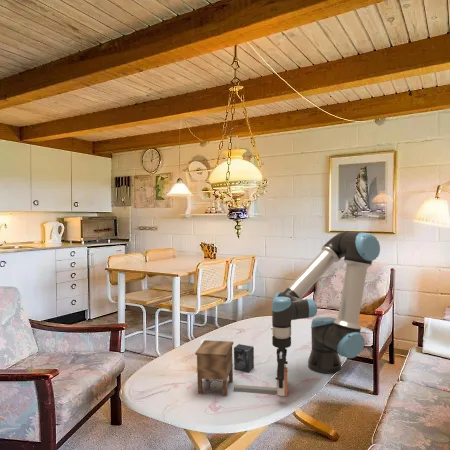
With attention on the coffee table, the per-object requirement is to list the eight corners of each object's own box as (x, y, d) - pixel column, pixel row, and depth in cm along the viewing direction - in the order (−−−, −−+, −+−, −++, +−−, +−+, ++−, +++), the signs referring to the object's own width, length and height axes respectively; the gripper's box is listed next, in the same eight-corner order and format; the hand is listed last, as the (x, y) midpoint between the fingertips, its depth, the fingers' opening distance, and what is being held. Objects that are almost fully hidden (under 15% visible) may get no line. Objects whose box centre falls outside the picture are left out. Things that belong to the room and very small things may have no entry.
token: (226, 386, 167) (226, 382, 167) (223, 393, 161) (223, 388, 161) (212, 385, 168) (212, 381, 168) (209, 392, 162) (209, 387, 162)
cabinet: (234, 380, 172) (233, 341, 171) (227, 396, 157) (226, 354, 156) (205, 378, 174) (204, 340, 173) (196, 394, 160) (195, 352, 159)
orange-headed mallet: (287, 391, 161) (287, 367, 160) (287, 396, 156) (286, 372, 156) (235, 387, 165) (234, 364, 165) (233, 392, 161) (232, 368, 160)
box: (233, 369, 183) (233, 347, 182) (239, 365, 188) (239, 343, 187) (249, 372, 179) (248, 350, 178) (254, 368, 184) (253, 346, 183)
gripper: (274, 325, 171) (275, 373, 172) (269, 346, 146) (270, 401, 147) (292, 326, 169) (292, 374, 170) (289, 347, 145) (290, 403, 146)
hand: (282, 387), depth 159 cm, fingers open, 13 cm apart
